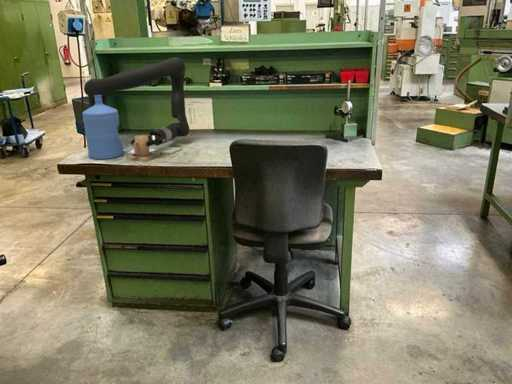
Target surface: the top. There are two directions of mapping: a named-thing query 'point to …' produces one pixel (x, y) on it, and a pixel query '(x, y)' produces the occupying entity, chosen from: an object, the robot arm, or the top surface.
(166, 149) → the mat
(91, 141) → the water jug
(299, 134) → the top surface
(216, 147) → the top surface
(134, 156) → the wooden frame
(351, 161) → the top surface
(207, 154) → the top surface
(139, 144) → the pillar candle
